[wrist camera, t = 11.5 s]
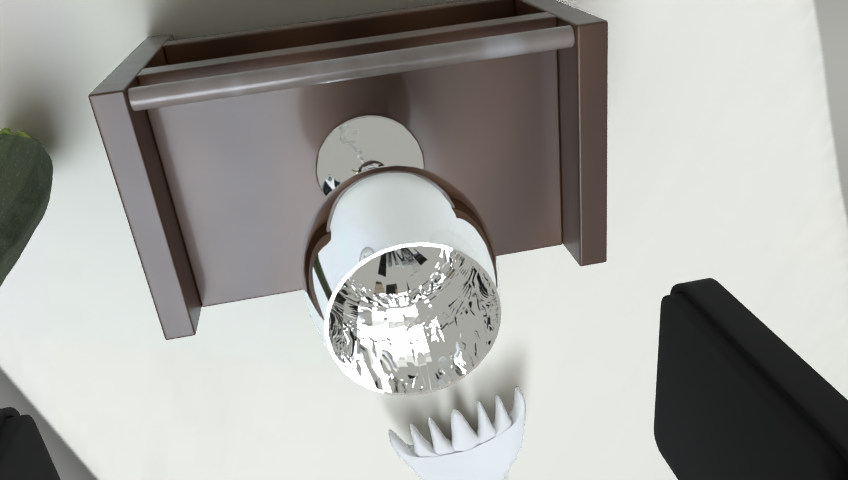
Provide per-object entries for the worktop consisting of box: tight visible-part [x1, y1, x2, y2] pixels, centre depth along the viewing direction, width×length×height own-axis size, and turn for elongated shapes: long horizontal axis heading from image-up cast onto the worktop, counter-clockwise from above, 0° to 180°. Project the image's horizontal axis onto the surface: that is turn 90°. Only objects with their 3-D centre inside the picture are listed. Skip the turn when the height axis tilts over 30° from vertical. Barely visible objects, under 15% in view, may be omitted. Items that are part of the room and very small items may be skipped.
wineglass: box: [301, 115, 501, 396], centre depth 24 cm, size 6×6×12 cm
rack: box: [89, 0, 608, 340], centre depth 33 cm, size 18×10×11 cm, turn 96°
